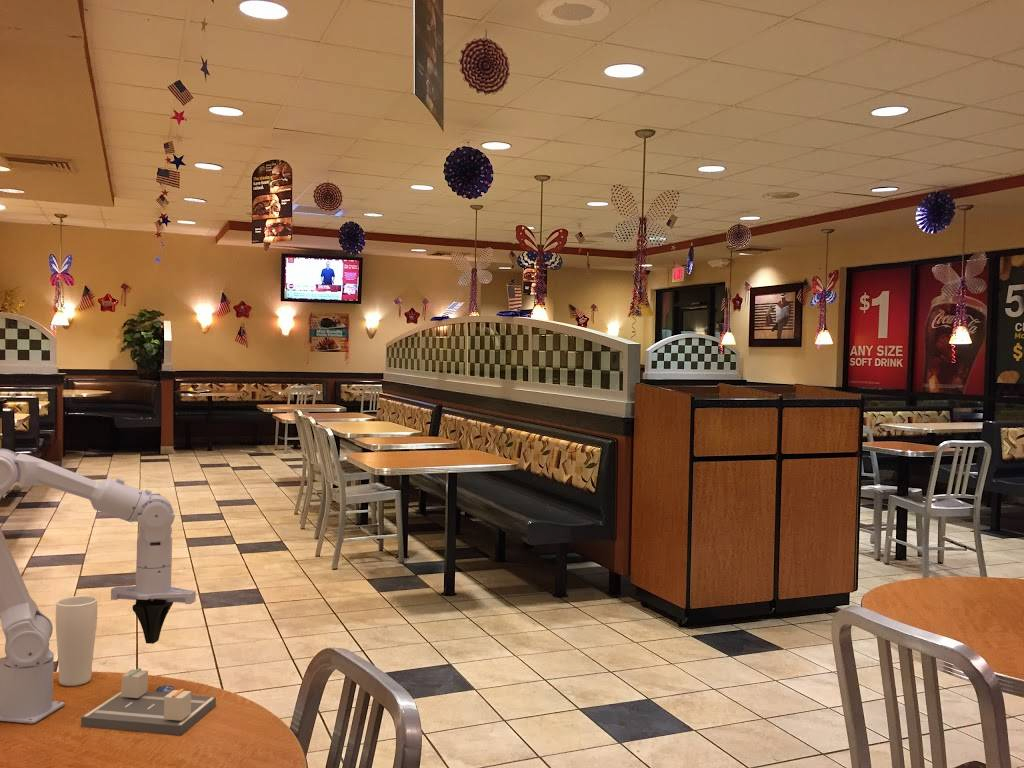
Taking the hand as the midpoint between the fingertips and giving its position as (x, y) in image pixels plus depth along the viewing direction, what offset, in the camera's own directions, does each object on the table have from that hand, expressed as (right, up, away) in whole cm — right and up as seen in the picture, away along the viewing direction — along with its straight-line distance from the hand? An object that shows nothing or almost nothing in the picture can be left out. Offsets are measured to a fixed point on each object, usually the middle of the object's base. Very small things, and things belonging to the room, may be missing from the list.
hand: (152, 641), depth 150 cm
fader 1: (-2, -8, -3) cm, 9 cm away
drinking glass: (-17, -9, +6) cm, 20 cm away
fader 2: (+9, -9, -11) cm, 17 cm away
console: (+3, -10, -7) cm, 13 cm away
